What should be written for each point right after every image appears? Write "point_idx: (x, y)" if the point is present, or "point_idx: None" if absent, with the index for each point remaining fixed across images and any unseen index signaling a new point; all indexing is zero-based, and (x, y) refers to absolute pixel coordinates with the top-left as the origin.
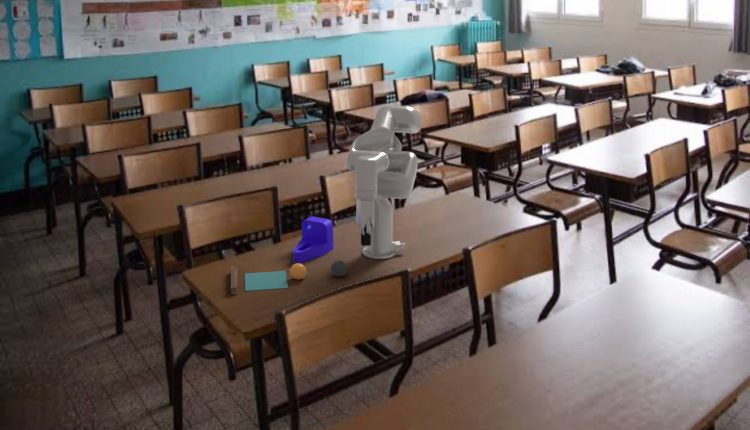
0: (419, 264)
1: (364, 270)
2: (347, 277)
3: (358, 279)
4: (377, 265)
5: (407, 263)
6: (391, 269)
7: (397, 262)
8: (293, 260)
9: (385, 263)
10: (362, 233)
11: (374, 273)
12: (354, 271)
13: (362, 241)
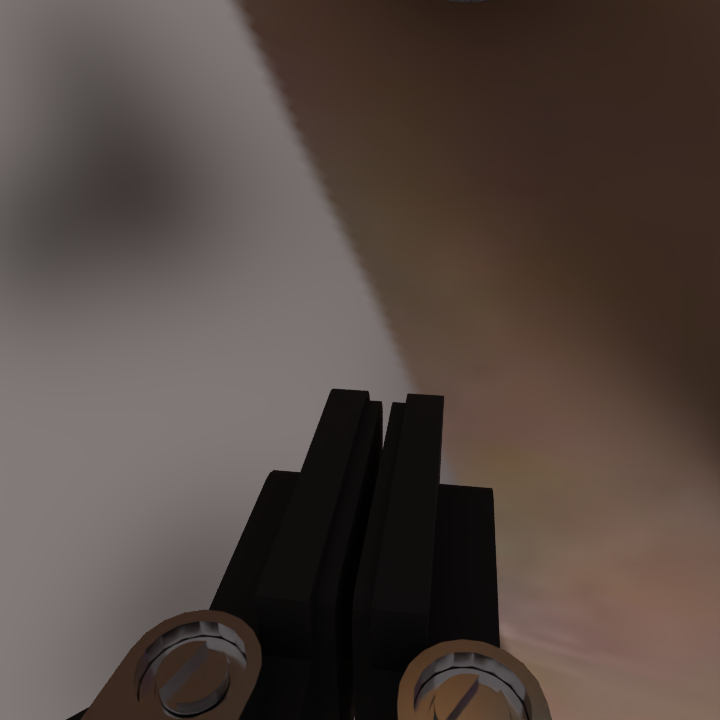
0: (553, 708)
1: (569, 258)
2: (408, 3)
3: (327, 140)
4: (662, 420)
5: (607, 650)
6: (513, 508)
7: (663, 595)
8: None
9: (684, 501)
10: (242, 659)
11: (456, 343)
12: (576, 131)
13: (314, 461)
